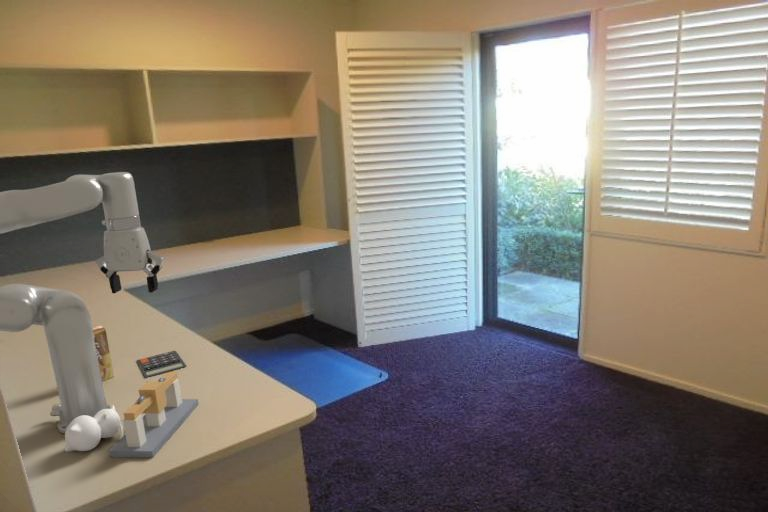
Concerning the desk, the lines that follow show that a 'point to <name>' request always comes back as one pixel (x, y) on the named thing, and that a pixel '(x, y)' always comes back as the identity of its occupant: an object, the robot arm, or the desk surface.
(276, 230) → the desk surface
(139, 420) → the display stand
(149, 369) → the calculator
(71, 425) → the cat figurine
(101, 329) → the candy box
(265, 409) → the desk surface
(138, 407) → the tan bar with handles
